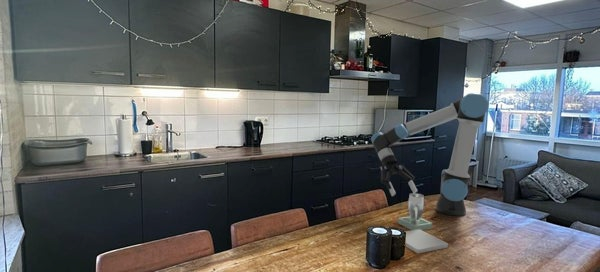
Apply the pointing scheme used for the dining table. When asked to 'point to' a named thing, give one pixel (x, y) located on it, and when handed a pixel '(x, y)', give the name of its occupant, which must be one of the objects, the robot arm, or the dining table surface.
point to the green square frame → (422, 226)
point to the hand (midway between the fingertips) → (405, 193)
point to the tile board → (423, 241)
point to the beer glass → (415, 208)
